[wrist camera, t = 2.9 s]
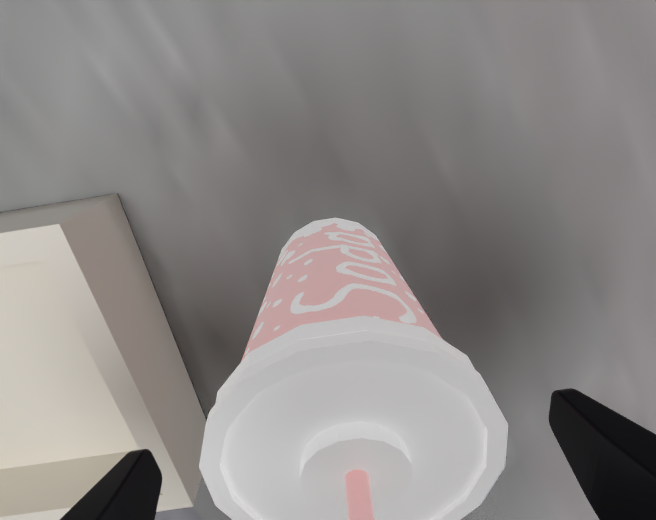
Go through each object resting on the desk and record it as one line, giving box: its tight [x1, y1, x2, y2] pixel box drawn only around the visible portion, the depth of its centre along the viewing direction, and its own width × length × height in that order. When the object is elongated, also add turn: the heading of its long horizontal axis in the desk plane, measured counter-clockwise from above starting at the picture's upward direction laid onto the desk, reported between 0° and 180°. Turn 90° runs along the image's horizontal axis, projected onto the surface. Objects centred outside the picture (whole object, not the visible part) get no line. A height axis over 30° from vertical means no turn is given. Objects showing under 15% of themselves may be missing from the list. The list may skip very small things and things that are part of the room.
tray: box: [0, 194, 206, 520], centre depth 15 cm, size 13×13×4 cm
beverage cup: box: [199, 218, 508, 520], centre depth 9 cm, size 6×6×14 cm
